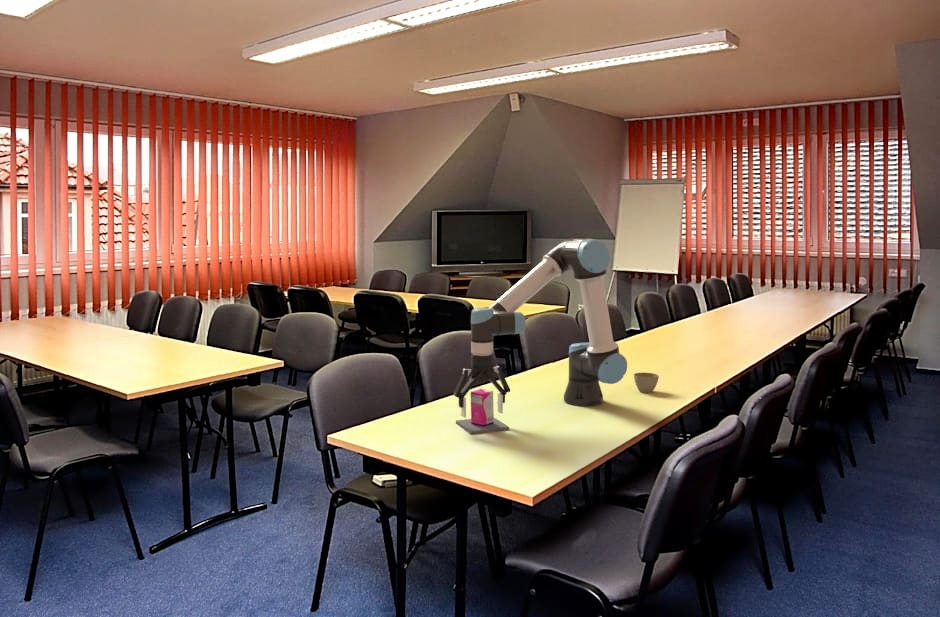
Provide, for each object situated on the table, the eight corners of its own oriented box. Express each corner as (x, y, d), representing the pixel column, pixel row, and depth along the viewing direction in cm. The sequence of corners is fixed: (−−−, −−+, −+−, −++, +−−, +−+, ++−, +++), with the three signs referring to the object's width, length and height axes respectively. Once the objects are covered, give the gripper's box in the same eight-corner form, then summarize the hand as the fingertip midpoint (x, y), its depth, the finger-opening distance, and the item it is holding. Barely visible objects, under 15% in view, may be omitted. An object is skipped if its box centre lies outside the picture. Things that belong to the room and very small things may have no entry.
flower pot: (661, 390, 304) (662, 374, 303) (653, 396, 296) (654, 378, 295) (638, 387, 310) (638, 371, 309) (629, 392, 301) (630, 375, 300)
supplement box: (481, 420, 258) (481, 388, 256) (494, 423, 254) (494, 390, 252) (470, 423, 253) (470, 391, 252) (483, 427, 249) (483, 394, 248)
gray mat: (492, 419, 263) (492, 416, 262) (509, 429, 250) (509, 426, 249) (455, 423, 257) (455, 420, 257) (470, 434, 244) (470, 431, 244)
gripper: (510, 349, 258) (510, 408, 261) (443, 354, 249) (444, 415, 252) (520, 352, 251) (519, 413, 254) (451, 358, 242) (451, 421, 245)
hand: (482, 414), depth 253 cm, fingers open, 13 cm apart
